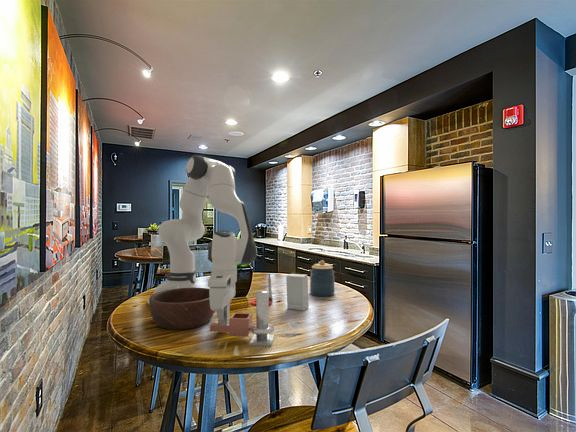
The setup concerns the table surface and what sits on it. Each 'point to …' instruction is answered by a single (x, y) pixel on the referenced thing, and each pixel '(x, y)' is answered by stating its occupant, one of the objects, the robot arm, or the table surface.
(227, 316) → the wedge pin
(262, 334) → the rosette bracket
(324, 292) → the canister
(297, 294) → the skincare box
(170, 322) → the wooden bowl
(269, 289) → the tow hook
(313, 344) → the table surface
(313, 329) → the table surface
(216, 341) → the table surface
